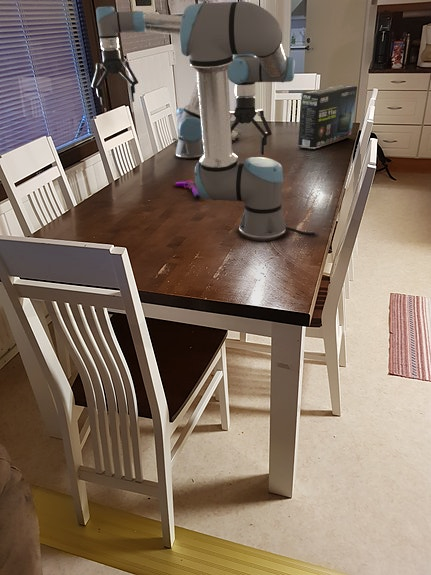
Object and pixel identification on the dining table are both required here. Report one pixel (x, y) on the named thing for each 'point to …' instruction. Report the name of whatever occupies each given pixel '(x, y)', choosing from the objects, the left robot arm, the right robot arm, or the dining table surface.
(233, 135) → the fossil
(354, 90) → the router box
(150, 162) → the dining table surface
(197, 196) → the handgun
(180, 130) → the left robot arm
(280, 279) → the dining table surface
